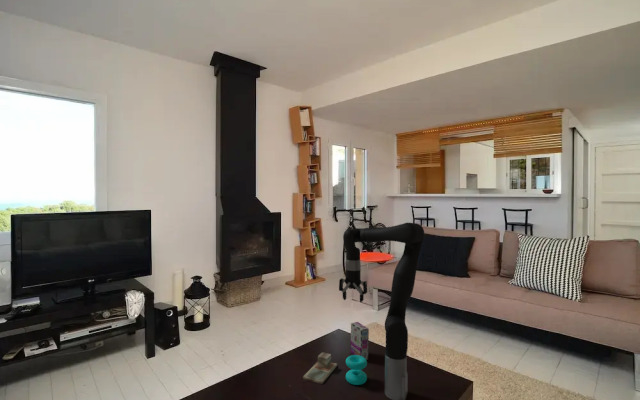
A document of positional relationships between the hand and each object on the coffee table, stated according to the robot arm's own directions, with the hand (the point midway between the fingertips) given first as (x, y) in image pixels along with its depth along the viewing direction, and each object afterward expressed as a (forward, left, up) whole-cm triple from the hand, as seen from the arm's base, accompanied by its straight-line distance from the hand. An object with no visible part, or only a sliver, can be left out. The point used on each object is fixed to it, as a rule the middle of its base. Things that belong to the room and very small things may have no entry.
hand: (352, 300), depth 160 cm
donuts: (-5, +9, -34) cm, 36 cm away
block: (+13, +6, -33) cm, 36 cm away
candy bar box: (+1, -14, -34) cm, 37 cm away
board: (+13, +10, -34) cm, 38 cm away
